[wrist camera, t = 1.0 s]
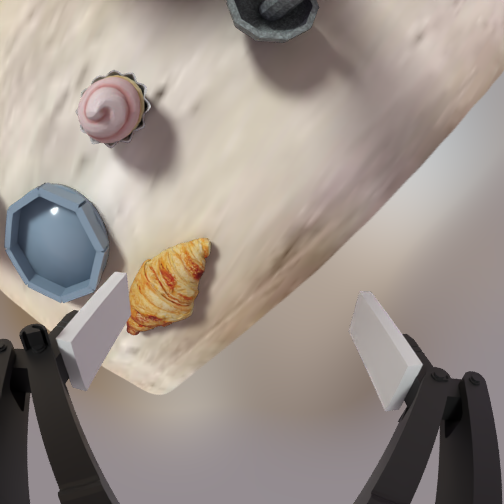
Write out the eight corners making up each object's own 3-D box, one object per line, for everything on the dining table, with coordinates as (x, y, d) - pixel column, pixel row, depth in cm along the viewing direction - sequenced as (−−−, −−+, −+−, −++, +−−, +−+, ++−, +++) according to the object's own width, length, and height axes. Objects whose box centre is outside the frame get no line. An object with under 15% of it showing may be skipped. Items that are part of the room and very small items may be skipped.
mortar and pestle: (254, 63, 32) (269, 45, 21) (210, 11, 28) (208, -25, 17) (324, 25, 30) (363, 0, 19) (283, -26, 26) (307, -65, 15)
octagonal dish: (24, 167, 33) (11, 173, 30) (123, 209, 39) (115, 218, 36) (12, 264, 40) (3, 274, 37) (97, 303, 45) (90, 316, 42)
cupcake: (111, 155, 35) (80, 172, 26) (81, 99, 31) (43, 101, 22) (171, 119, 34) (155, 124, 25) (140, 60, 30) (115, 47, 21)
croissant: (193, 214, 44) (167, 215, 36) (241, 262, 43) (223, 273, 36) (124, 305, 50) (96, 318, 42) (162, 347, 49) (138, 367, 41)
